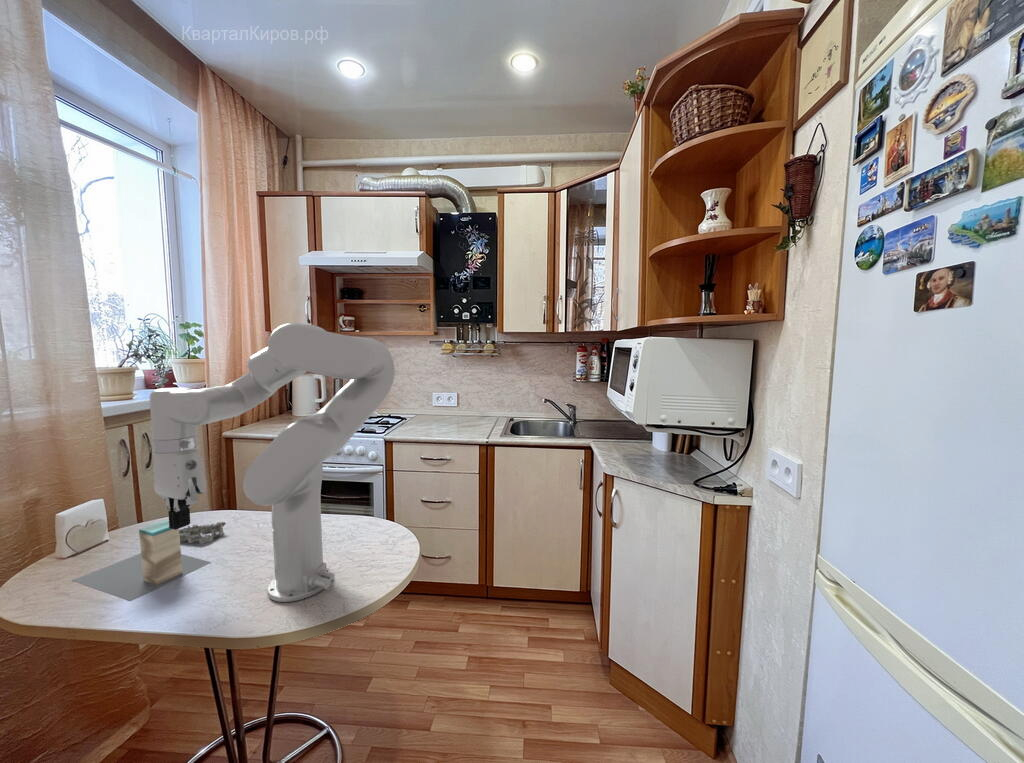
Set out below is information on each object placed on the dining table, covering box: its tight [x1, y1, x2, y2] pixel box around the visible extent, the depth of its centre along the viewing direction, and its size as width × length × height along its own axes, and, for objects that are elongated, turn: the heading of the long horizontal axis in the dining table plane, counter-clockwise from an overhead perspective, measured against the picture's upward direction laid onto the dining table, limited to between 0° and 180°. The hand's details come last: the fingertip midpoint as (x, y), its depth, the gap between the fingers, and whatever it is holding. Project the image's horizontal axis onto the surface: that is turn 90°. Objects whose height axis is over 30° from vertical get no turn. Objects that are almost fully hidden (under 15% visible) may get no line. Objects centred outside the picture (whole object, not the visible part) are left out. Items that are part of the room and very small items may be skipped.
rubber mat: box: [71, 552, 212, 602], centre depth 94 cm, size 22×16×1 cm
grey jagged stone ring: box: [179, 521, 226, 545], centre depth 110 cm, size 11×8×4 cm
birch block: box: [138, 520, 182, 585], centre depth 91 cm, size 5×5×12 cm
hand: (180, 526), depth 87 cm, fingers closed
